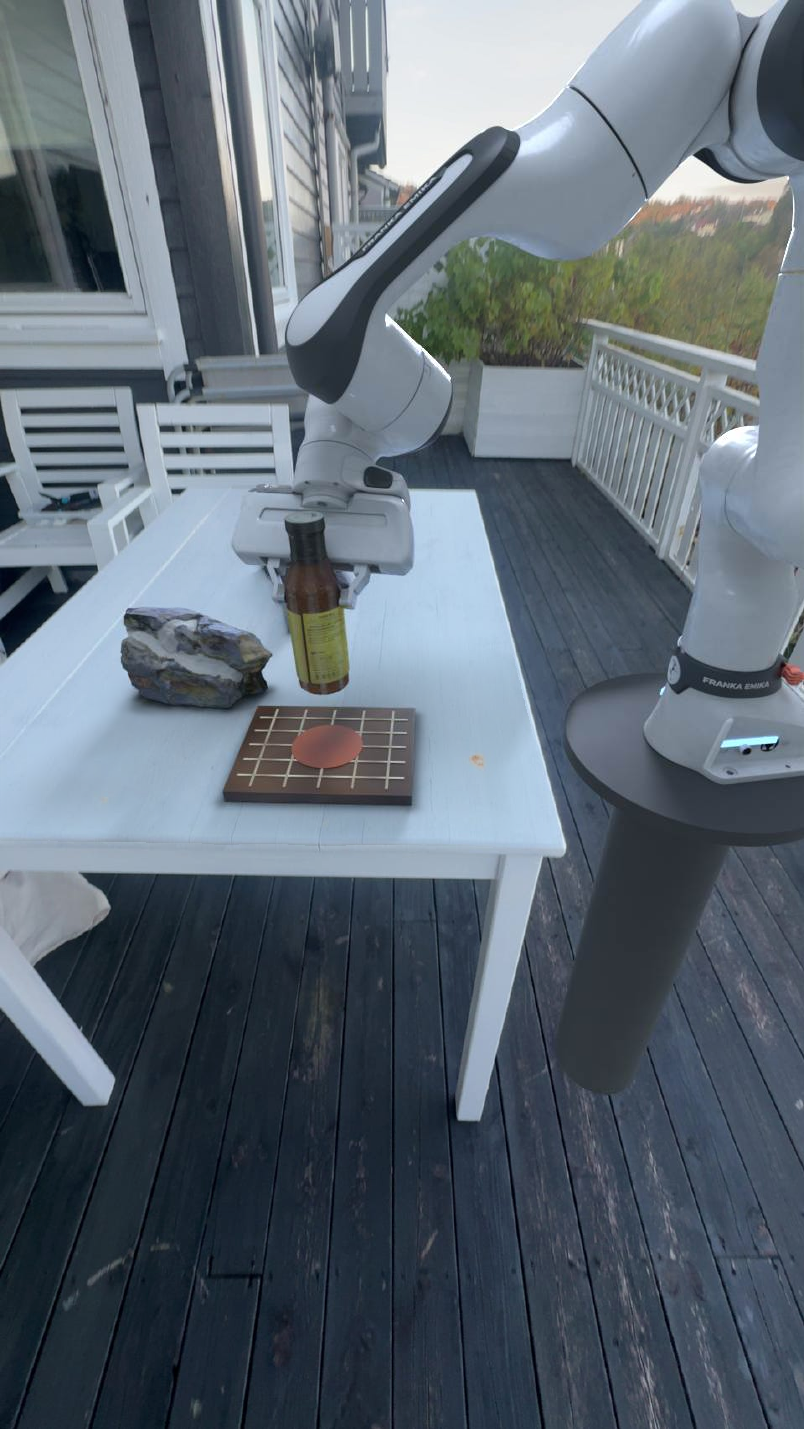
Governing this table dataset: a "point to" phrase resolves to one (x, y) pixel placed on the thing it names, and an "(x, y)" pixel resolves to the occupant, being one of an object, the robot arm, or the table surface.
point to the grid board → (326, 756)
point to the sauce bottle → (315, 608)
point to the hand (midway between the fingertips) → (313, 605)
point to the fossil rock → (191, 658)
